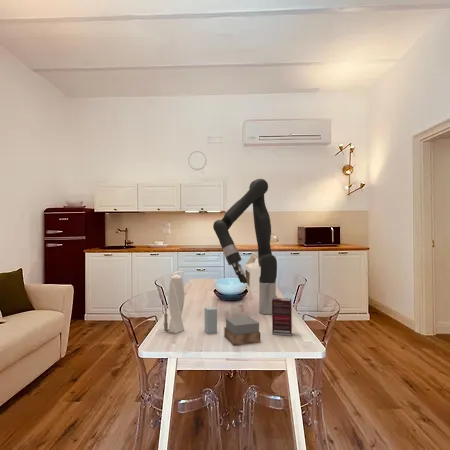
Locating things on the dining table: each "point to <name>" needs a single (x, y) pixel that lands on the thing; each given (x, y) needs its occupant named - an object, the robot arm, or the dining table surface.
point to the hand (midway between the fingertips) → (244, 282)
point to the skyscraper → (175, 305)
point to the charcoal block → (242, 325)
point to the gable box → (253, 273)
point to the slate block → (210, 320)
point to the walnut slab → (241, 337)
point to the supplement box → (281, 316)
